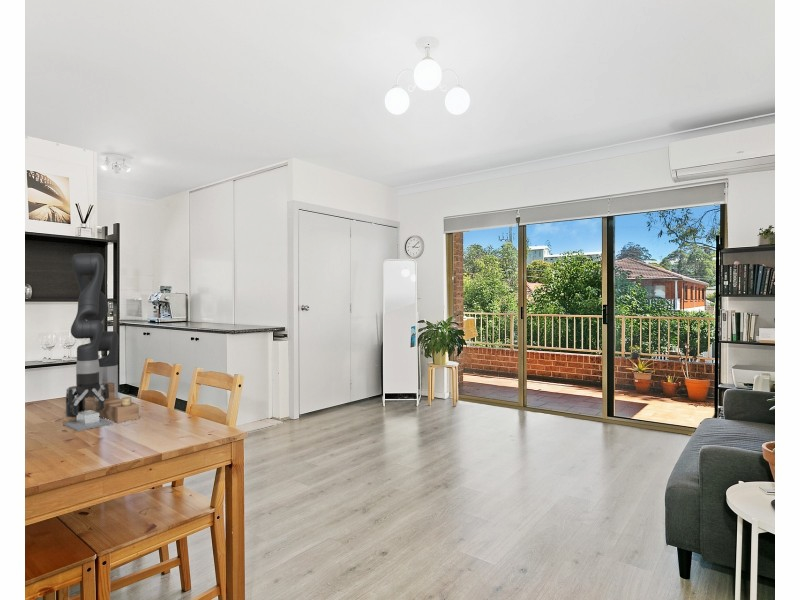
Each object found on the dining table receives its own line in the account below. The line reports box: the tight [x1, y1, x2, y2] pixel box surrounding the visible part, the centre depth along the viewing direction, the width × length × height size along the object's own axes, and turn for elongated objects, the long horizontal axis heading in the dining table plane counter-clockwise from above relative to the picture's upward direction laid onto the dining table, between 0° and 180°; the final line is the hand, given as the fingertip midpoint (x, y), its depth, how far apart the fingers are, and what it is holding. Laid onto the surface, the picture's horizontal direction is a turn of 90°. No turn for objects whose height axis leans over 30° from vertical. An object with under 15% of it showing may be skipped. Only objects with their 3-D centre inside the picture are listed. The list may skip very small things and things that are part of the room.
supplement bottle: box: [65, 385, 86, 418], centre depth 201 cm, size 7×7×12 cm
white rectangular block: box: [76, 409, 100, 426], centre depth 186 cm, size 8×5×4 cm, turn 54°
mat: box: [62, 417, 114, 432], centre depth 186 cm, size 14×12×1 cm
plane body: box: [95, 382, 140, 424], centre depth 198 cm, size 20×8×13 cm, turn 54°
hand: (88, 412), depth 187 cm, fingers open, 8 cm apart
